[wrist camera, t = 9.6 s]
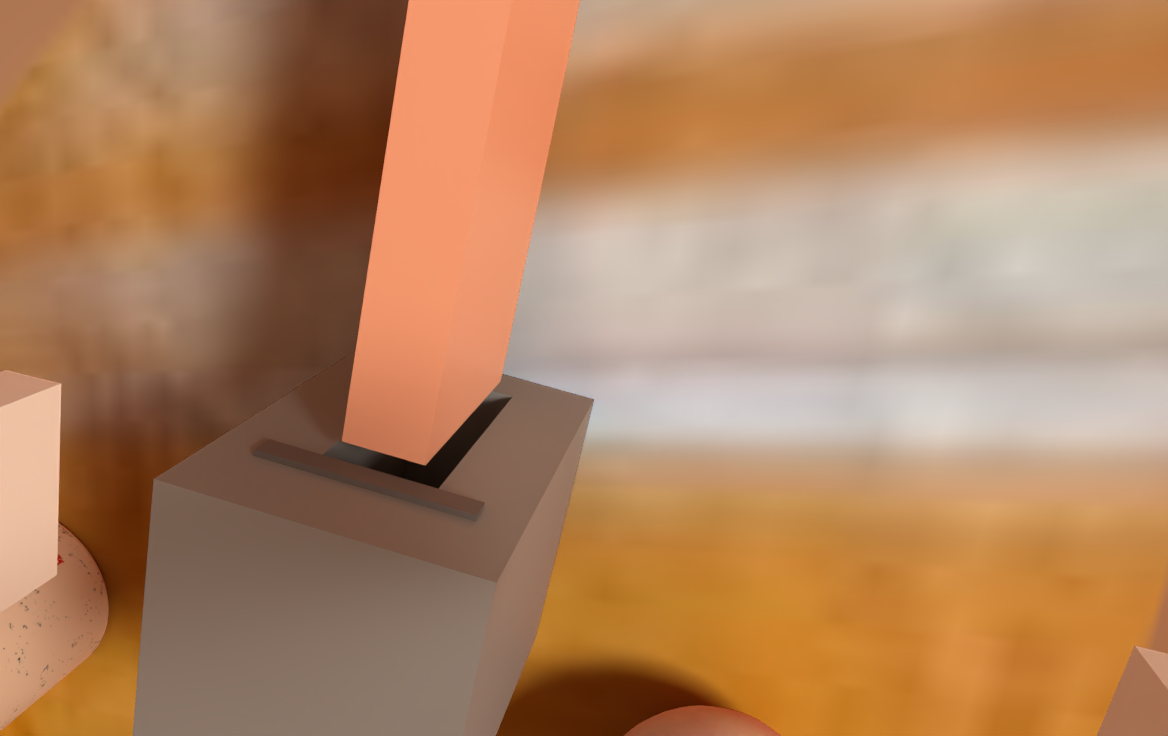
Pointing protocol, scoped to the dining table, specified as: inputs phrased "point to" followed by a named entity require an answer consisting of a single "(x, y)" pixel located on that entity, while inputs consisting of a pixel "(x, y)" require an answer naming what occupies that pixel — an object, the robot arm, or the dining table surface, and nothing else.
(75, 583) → the teacup with lid
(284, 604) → the gray rectangular block
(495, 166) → the orange rectangular block
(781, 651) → the dining table surface
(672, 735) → the decorative fruit
